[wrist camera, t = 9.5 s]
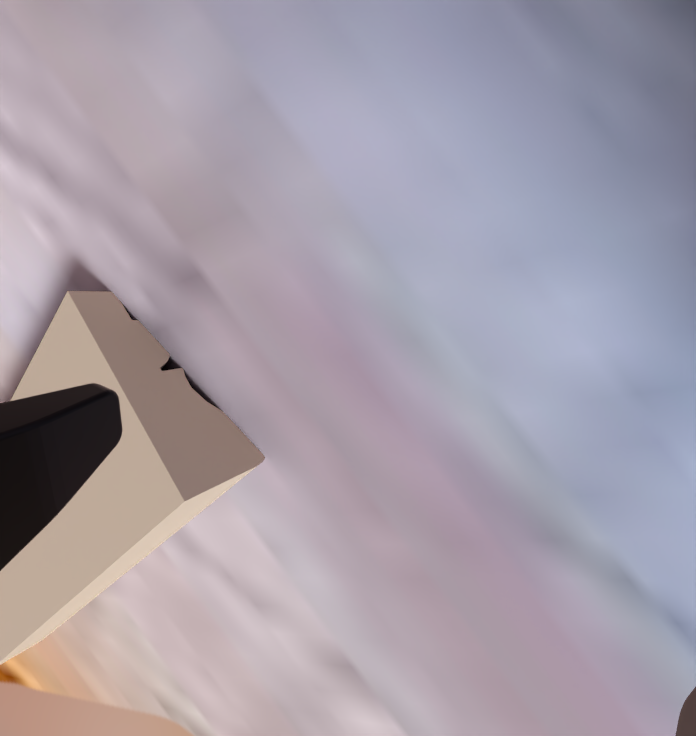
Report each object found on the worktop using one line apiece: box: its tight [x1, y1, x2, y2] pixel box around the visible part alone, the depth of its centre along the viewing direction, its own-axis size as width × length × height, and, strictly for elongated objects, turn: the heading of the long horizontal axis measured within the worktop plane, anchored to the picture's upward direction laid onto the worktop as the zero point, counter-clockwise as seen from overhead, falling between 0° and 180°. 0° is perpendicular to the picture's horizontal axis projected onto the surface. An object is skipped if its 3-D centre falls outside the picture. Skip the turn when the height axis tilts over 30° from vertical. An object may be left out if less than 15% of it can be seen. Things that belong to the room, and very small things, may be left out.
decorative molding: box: [0, 291, 265, 664], centre depth 38 cm, size 34×5×10 cm
